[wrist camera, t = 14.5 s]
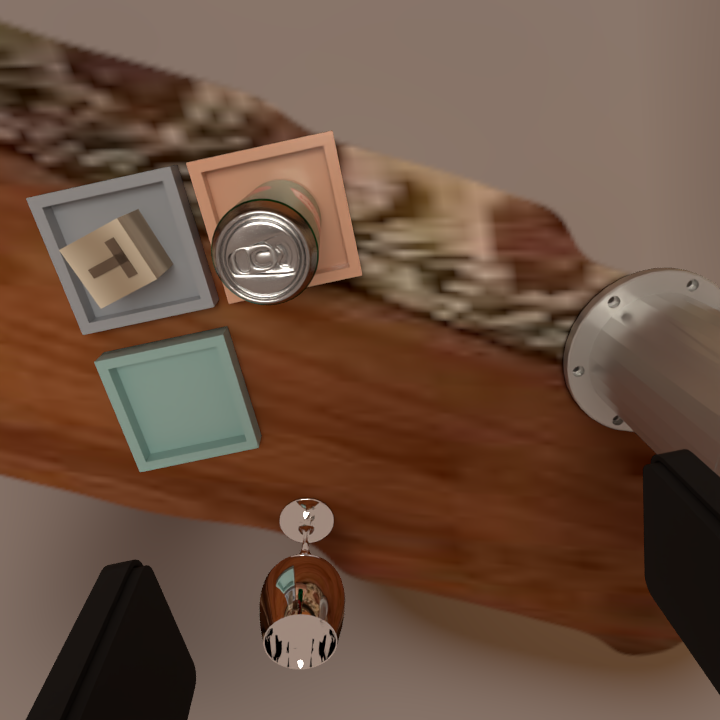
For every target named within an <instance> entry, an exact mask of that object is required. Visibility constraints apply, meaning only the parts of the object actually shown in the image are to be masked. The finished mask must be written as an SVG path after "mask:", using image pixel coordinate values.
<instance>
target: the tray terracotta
mask: <svg viewBox="0 0 720 720" xmlns="http://www.w3.org/2000/svg"><path fill="white" fill-rule="evenodd" d="M186 164H187V167H188V171H189V174H190V177H191V181H192V184H193V187H194V190H195V194H196V197H197V200H198V204H199V207H200V210H201V213H202V217H203V220H204V223H205V227H206V230H207V233H208V236H209V240H210V243H211V244H212V237H213V234H214V231H215V228H216V226H217V224H218V223H219V221H220V220H221V218H222V217H223V216H224V215H225V214H226V213H227V212H228V211H229V210H230V209H231V208H232V207H234V206H235V205H236V204H237V203H238V202H240V201H241V200H242V199H243V198H244V197H246V196H247V195H248V194H249V193H250V192H252V191H253V190H254V189H255V188H257V187H258V186H260V185H261V184H263V183H265V182H268V181H272V180H287V181H292V182H294V183H297V184H299V185H300V186H302V187H304V188H305V189H306V190H307V191H308V192H309V193H310V194H311V195H312V196H313V198H314V199H315V201H316V202H317V204H318V207H319V210H320V213H321V235H320V249H319V261H318V266H317V270H316V273H315V275H314V277H313V279H312V281H311V283H310V284H309V285H308V287H310V286H315V285H319V284H324V283H329V282H333V281H338V280H343V279H347V278H352V277H357V276H361V275H362V271H361V266H360V261H359V257H358V252H357V247H356V242H355V237H354V232H353V228H352V223H351V218H350V213H349V208H348V203H347V199H346V194H345V189H344V184H343V179H342V174H341V170H340V165H339V160H338V155H337V150H336V145H335V141H334V136H333V131H327V132H323V133H318V134H314V135H309V136H305V137H300V138H295V139H291V140H286V141H282V142H277V143H273V144H268V145H264V146H259V147H255V148H250V149H246V150H241V151H237V152H232V153H228V154H223V155H219V156H214V157H210V158H205V159H201V160H196V161H192V162H188V163H186ZM223 286H224V289H225V292H226V296H227V299H228V302H229V304H230V303H235V302H240V301H244V300H243V299H241V298H240V297H238V296H236V295H235V294H234V293H232V292H231V291H230V290H229V289H228V288H227V287H226V286H225V285H224V284H223Z"/></svg>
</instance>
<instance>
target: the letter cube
mask: <svg viewBox="0 0 720 720" xmlns="http://www.w3.org/2000/svg"><path fill="white" fill-rule="evenodd" d="M59 251H60V252H61V254H62V255H63V256H64V258H65V259H66V261H67V262H68V263H69V265H70V266H71V268H72V269H73V270H74V272H75V273H76V275H77V276H78V277H79V279H80V280H81V282H82V283H83V284H84V286H85V287H86V289H87V290H88V291H89V293H90V294H91V296H92V297H93V298H94V300H95V301H96V303H97V304H98V305H99V307H100V308H101V309H102V308H104V307H105V306H107V305H109V304H111V303H113V302H115V301H117V300H119V299H121V298H122V297H124V296H126V295H128V294H130V293H132V292H134V291H136V290H138V289H139V288H141V287H143V286H145V285H147V284H149V283H151V282H153V281H155V280H156V279H158V278H159V277H160V276H161V275H162V274H163V273H164V272H166V271H167V270H168V269H169V268H170V267H171V266H172V265H173V262H172V261H171V259H170V258H169V256H168V255H167V253H166V252H165V250H164V248H163V247H162V245H161V244H160V242H159V241H158V239H157V237H156V236H155V234H154V233H153V231H152V230H151V228H150V227H149V225H148V223H147V222H146V220H145V219H144V217H143V216H142V214H141V212H140V211H139V209H137V210H135V211H132V212H130V213H128V214H126V215H123V216H121V217H119V218H116V219H115V220H113V221H111V222H109V223H107V224H106V225H104V226H102V227H100V228H98V229H96V230H95V231H93V232H91V233H89V234H87V235H86V236H84V237H82V238H80V239H78V240H77V241H75V242H73V243H71V244H69V245H67V246H66V247H64V248H62V249H60V250H59Z"/></svg>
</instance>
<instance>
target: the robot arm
mask: <svg viewBox="0 0 720 720" xmlns="http://www.w3.org/2000/svg"><path fill="white" fill-rule="evenodd" d="M610 298H611V300H610V301H608V300H609V299H610ZM575 367H576V369H574V368H575ZM563 369H564V376H565V381H566V385H567V387H568V389H569V391H570V393H571V396H572V398H573V399H574V400H575V401H576V403H577V404H578V405H579V406H580V408H581V409H582V410H583V411H584V412H585V413H586V414H587V415H588V416H590V417H591V418H592V419H594V420H595V421H597V422H599V423H600V424H602V425H604V426H607V427H610V428H612V429H616V430H623V431H630V432H635V433H636V434H637V435H638V436H639V437H640V438H641V439H642V440H643V441H644V442H645V443H646V444H647V445H648V446H649V447H650V448H651V449H652V450H653V451H654V452H655V453H656V455H654V456H653V457H652V459H651V464H648V465H645V466H644V468H643V502H644V563H645V580H646V584H647V587H648V590H649V592H650V594H651V596H652V597H653V599H654V600H655V602H656V603H657V605H658V606H659V607H660V609H661V610H662V612H663V613H664V615H665V616H666V618H667V619H668V620H669V622H670V623H671V625H672V626H673V628H674V629H675V631H676V632H677V634H678V635H679V636H680V638H681V639H682V641H683V642H684V643H685V645H686V646H687V648H688V649H689V651H690V652H691V654H692V655H693V657H694V658H695V660H696V661H697V662H698V664H699V665H700V667H701V668H702V670H703V671H704V673H705V674H706V676H707V677H708V678H709V680H710V681H711V683H712V684H713V686H714V687H715V689H716V690H717V691H718V693H719V694H720V288H719V287H718V286H717V285H716V284H715V283H713V282H712V281H710V280H708V279H706V278H705V277H703V276H701V275H698V274H695V273H693V272H690V271H687V270H682V269H676V268H653V269H648V270H643V271H639V272H636V273H633V274H631V275H628V276H626V277H623V278H621V279H619V280H618V281H616V282H614V283H613V284H611V285H609V286H608V287H606V288H605V289H604V290H602V291H601V292H600V293H599V294H598V295H597V296H595V297H594V298H593V299H592V300H591V301H590V302H589V304H588V305H587V306H586V307H585V308H584V309H583V311H582V312H581V313H580V315H579V316H578V318H577V320H576V321H575V323H574V325H573V326H572V328H571V331H570V334H569V336H568V339H567V341H566V346H565V351H564V357H563ZM195 684H196V671H195V666H194V663H193V660H192V658H191V656H190V654H189V651H188V649H187V647H186V645H185V642H184V640H183V638H182V635H181V633H180V631H179V629H178V627H177V624H176V622H175V620H174V617H173V615H172V613H171V610H170V608H169V606H168V604H167V602H166V599H165V597H164V595H163V592H162V590H161V588H160V586H159V583H158V581H157V579H156V577H155V574H154V572H153V570H152V568H151V567H150V566H147V565H146V566H143V565H142V563H141V562H140V561H139V560H131V561H126V562H121V563H116V564H112V565H107V566H105V567H104V568H103V570H102V571H101V573H100V575H99V577H98V579H97V581H96V583H95V585H94V587H93V589H92V591H91V593H90V595H89V597H88V599H87V600H86V603H85V604H84V606H83V608H82V610H81V612H80V614H79V616H78V618H77V620H76V622H75V624H74V626H73V628H72V630H71V632H70V634H69V636H68V638H67V640H66V642H65V644H64V646H63V648H62V650H61V652H60V653H59V655H58V657H57V659H56V661H55V663H54V665H53V667H52V669H51V671H50V673H49V675H48V677H47V679H46V681H45V683H44V685H43V687H42V689H41V691H40V693H39V695H38V697H37V699H36V701H35V703H34V705H33V707H32V709H31V711H30V712H29V715H28V717H27V719H26V720H187V719H188V715H189V710H190V706H191V702H192V698H193V694H194V689H195Z"/></svg>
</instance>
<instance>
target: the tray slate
mask: <svg viewBox="0 0 720 720" xmlns="http://www.w3.org/2000/svg"><path fill="white" fill-rule="evenodd" d="M26 199H27V202H28V204H29V207H30V209H31V211H32V214H33V216H34V219H35V221H36V223H37V226H38V228H39V231H40V233H41V235H42V238H43V240H44V243H45V245H46V247H47V250H48V252H49V255H50V257H51V260H52V262H53V264H54V267H55V269H56V272H57V274H58V276H59V279H60V281H61V284H62V286H63V288H64V291H65V293H66V296H67V298H68V300H69V303H70V305H71V308H72V310H73V312H74V315H75V317H76V320H77V322H78V324H79V327H80V329H81V332H82V334H83V335H85V334H90V333H95V332H99V331H104V330H109V329H113V328H118V327H123V326H127V325H132V324H137V323H142V322H146V321H151V320H156V319H160V318H165V317H170V316H174V315H179V314H184V313H188V312H193V311H198V310H202V309H207V308H212V307H215V305H216V303H217V302H218V300H219V298H218V294H217V291H216V288H215V285H214V281H213V278H212V275H211V272H210V269H209V265H208V262H207V259H206V256H205V252H204V249H203V246H202V243H201V240H200V236H199V233H198V230H197V227H196V223H195V220H194V217H193V214H192V211H191V207H190V204H189V201H188V198H187V194H186V191H185V188H184V185H183V182H182V178H181V175H180V172H179V169H178V165H173V166H169V167H164V168H160V169H155V170H151V171H146V172H142V173H137V174H133V175H128V176H124V177H119V178H115V179H110V180H106V181H101V182H97V183H92V184H88V185H83V186H79V187H74V188H70V189H65V190H60V191H56V192H51V193H47V194H42V195H38V196H34V197H30V198H26ZM137 209H139V211H140V212H141V214H142V216H143V217H144V219H145V220H146V222H147V223H148V225H149V227H150V228H151V230H152V231H153V233H154V234H155V236H156V237H157V239H158V241H159V242H160V244H161V245H162V247H163V248H164V250H165V252H166V253H167V255H168V256H169V258H170V259H171V261H172V262H173V265H172V266H171V267H170V268H169V269H168V270H167V271H166V272H164V273H163V274H162V275H161V276H160V277H159V278H158V279H156V280H155V281H153V282H151V283H149V284H147V285H145V286H143V287H141V288H139V289H138V290H136V291H134V292H132V293H130V294H128V295H126V296H124V297H122V298H121V299H119V300H117V301H115V302H113V303H111V304H109V305H107V306H105V307H104V308H102V309H101V308H100V307H99V305H98V304H97V303H96V301H95V300H94V298H93V297H92V296H91V294H90V293H89V291H88V290H87V289H86V287H85V286H84V284H83V283H82V282H81V280H80V279H79V277H78V276H77V275H76V273H75V272H74V270H73V269H72V268H71V266H70V265H69V263H68V262H67V261H66V259H65V258H64V256H63V255H62V254H61V252H60V251H59V250H60V249H62V248H64V247H66V246H67V245H69V244H71V243H73V242H75V241H77V240H78V239H80V238H82V237H84V236H86V235H87V234H89V233H91V232H93V231H95V230H96V229H98V228H100V227H102V226H104V225H106V224H107V223H109V222H111V221H113V220H115V219H116V218H119V217H121V216H123V215H126V214H128V213H130V212H132V211H135V210H137Z"/></svg>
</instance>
